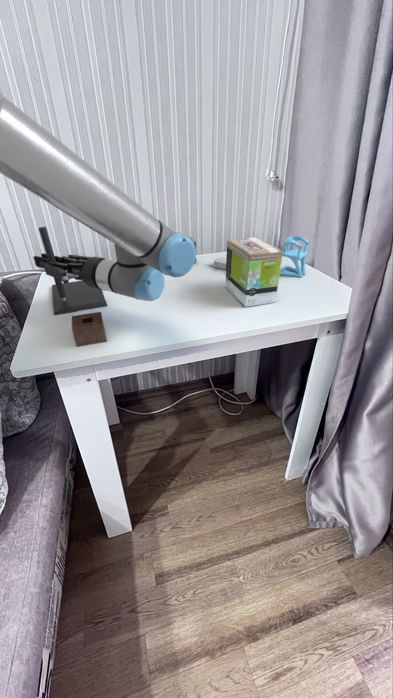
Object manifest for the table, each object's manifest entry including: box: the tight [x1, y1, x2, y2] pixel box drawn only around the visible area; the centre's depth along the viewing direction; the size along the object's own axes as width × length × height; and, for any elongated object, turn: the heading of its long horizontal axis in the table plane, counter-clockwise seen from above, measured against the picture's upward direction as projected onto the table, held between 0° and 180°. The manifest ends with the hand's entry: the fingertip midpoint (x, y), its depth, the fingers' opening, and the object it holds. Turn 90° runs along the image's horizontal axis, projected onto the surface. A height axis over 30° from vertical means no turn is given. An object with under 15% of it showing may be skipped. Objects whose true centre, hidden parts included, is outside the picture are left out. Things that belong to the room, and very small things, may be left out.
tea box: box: [224, 236, 284, 307], centre depth 91 cm, size 15×10×15 cm
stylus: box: [38, 226, 66, 301], centre depth 86 cm, size 2×2×20 cm
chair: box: [279, 235, 310, 278], centre depth 105 cm, size 8×8×12 cm
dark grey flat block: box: [51, 280, 108, 316], centre depth 96 cm, size 20×14×1 cm
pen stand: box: [71, 311, 108, 347], centre depth 76 cm, size 7×7×4 cm
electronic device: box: [213, 256, 227, 271], centre depth 110 cm, size 5×10×15 cm
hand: (39, 259), depth 87 cm, fingers closed on stylus, 2 cm apart
